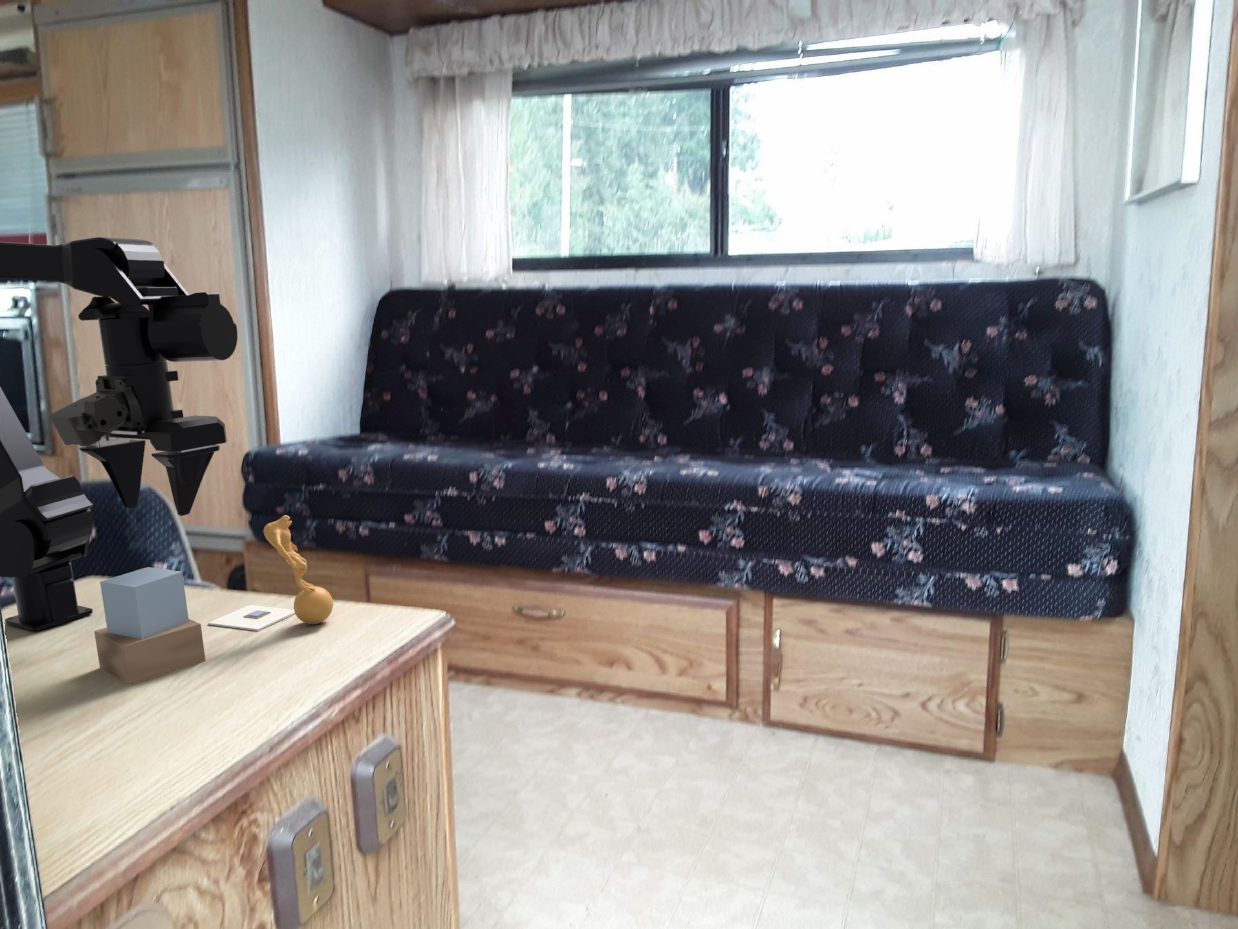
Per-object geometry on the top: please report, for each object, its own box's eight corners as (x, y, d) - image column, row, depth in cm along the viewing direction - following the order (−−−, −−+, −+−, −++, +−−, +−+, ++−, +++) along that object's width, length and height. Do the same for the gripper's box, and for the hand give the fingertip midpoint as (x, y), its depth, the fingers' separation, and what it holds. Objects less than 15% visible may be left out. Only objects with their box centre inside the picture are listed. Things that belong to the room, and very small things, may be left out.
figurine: (337, 632, 96) (324, 519, 94) (275, 642, 94) (261, 526, 92) (332, 608, 104) (321, 503, 102) (275, 617, 102) (262, 509, 100)
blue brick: (107, 632, 89) (100, 581, 88) (154, 615, 93) (147, 566, 92) (142, 639, 86) (134, 587, 85) (188, 621, 91) (182, 571, 90)
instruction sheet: (208, 624, 101) (207, 621, 101) (249, 606, 106) (249, 603, 106) (258, 631, 98) (257, 627, 98) (298, 612, 103) (298, 608, 103)
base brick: (100, 670, 90) (94, 631, 89) (173, 648, 95) (168, 610, 94) (130, 688, 85) (124, 646, 85) (205, 663, 91) (200, 623, 90)
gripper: (5, 370, 94) (30, 521, 97) (113, 371, 85) (137, 538, 88) (112, 361, 104) (132, 499, 107) (220, 360, 94) (239, 512, 97)
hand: (157, 511), depth 99 cm, fingers open, 9 cm apart
